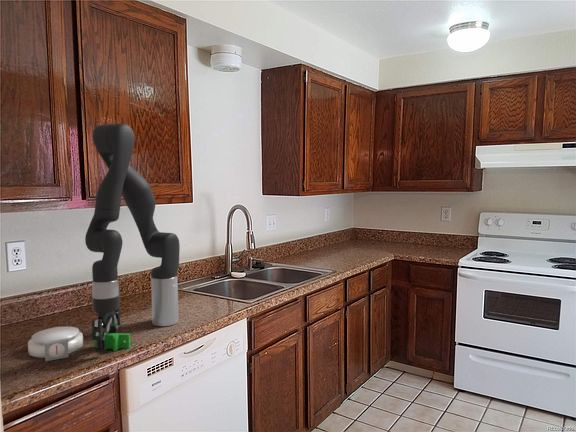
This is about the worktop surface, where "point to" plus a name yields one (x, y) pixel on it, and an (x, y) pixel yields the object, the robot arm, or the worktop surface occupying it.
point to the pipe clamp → (116, 341)
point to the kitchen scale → (55, 343)
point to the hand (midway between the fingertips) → (107, 346)
